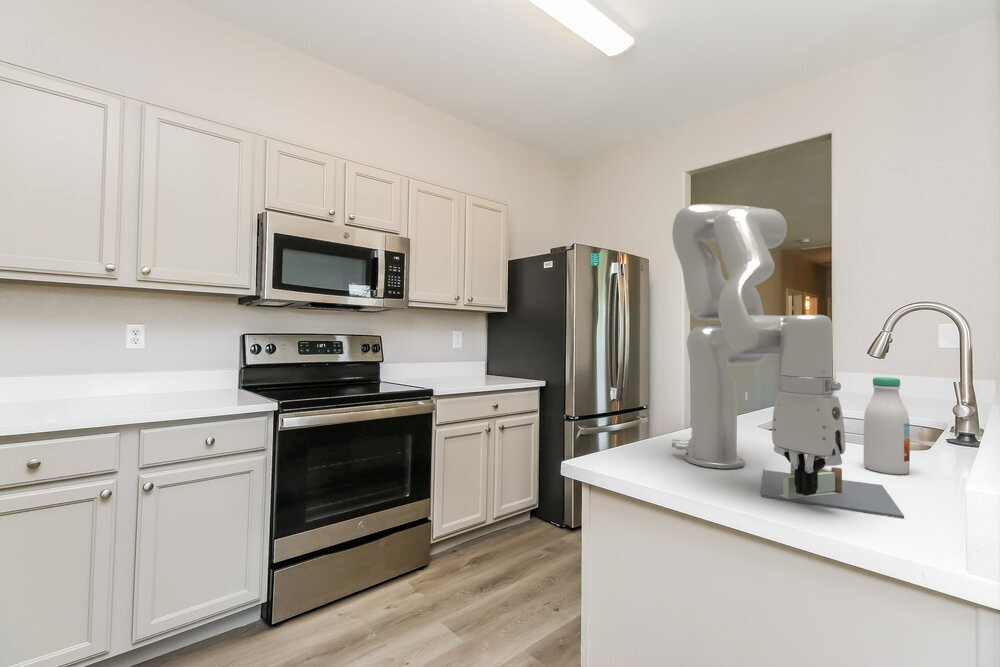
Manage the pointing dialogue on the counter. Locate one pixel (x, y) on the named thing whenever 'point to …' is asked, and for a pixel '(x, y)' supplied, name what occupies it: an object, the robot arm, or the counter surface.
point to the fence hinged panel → (824, 483)
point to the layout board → (836, 496)
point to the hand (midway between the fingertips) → (806, 493)
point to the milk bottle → (886, 429)
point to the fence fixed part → (837, 477)
